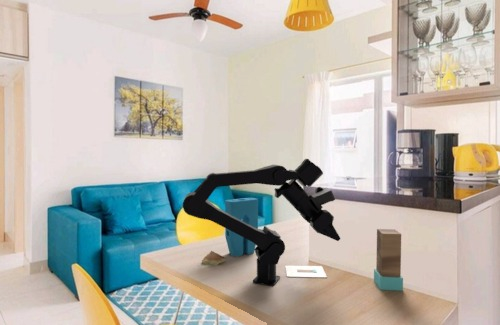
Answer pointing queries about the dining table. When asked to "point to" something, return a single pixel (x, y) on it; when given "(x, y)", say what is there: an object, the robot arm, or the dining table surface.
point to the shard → (213, 258)
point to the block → (249, 215)
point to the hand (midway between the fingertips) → (334, 235)
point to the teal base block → (388, 282)
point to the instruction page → (305, 271)
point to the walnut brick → (388, 253)
